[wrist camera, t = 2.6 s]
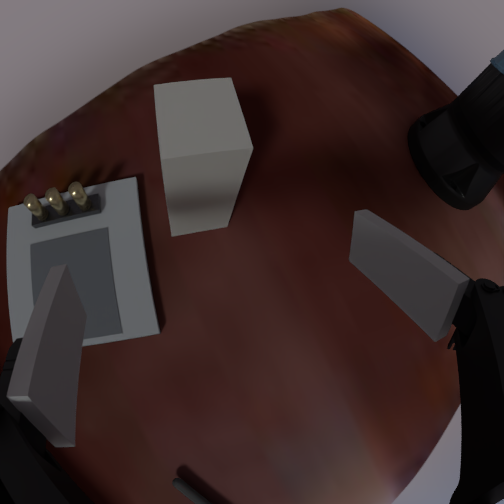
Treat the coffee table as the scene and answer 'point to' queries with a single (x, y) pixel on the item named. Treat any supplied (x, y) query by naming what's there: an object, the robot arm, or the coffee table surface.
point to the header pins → (62, 206)
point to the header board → (86, 265)
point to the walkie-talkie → (189, 492)
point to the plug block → (201, 151)
